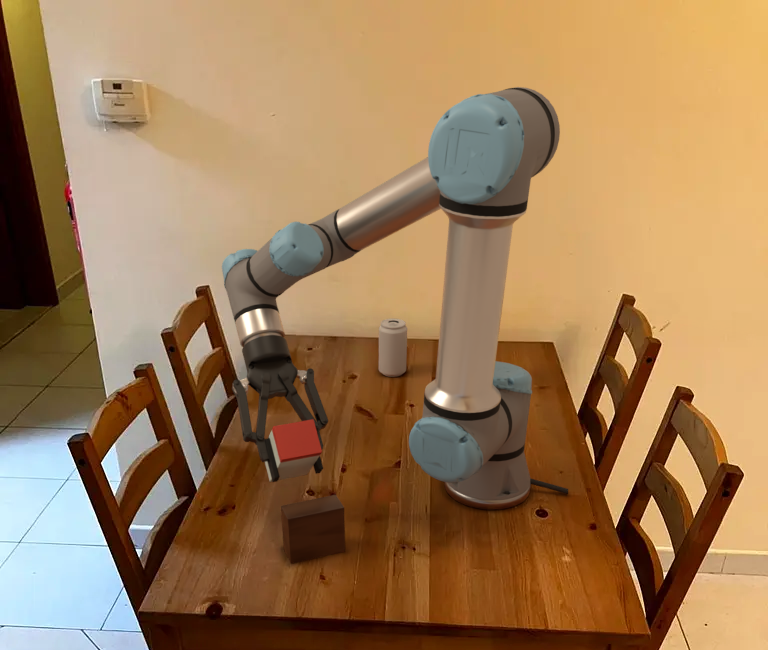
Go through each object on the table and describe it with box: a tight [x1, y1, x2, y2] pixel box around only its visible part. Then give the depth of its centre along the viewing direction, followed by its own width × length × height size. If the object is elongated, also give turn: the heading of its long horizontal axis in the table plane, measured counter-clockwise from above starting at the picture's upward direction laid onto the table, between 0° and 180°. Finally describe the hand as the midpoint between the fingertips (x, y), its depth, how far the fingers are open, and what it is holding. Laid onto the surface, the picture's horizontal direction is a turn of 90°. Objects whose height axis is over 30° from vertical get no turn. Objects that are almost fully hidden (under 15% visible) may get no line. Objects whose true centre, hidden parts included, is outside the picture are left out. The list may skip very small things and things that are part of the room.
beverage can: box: [378, 318, 408, 378], centre depth 186 cm, size 6×6×12 cm
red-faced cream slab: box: [264, 419, 323, 483], centre depth 133 cm, size 13×6×13 cm, turn 22°
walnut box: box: [280, 494, 346, 565], centre depth 129 cm, size 4×9×8 cm, turn 111°
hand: (297, 475), depth 132 cm, fingers closed on red-faced cream slab, 6 cm apart
